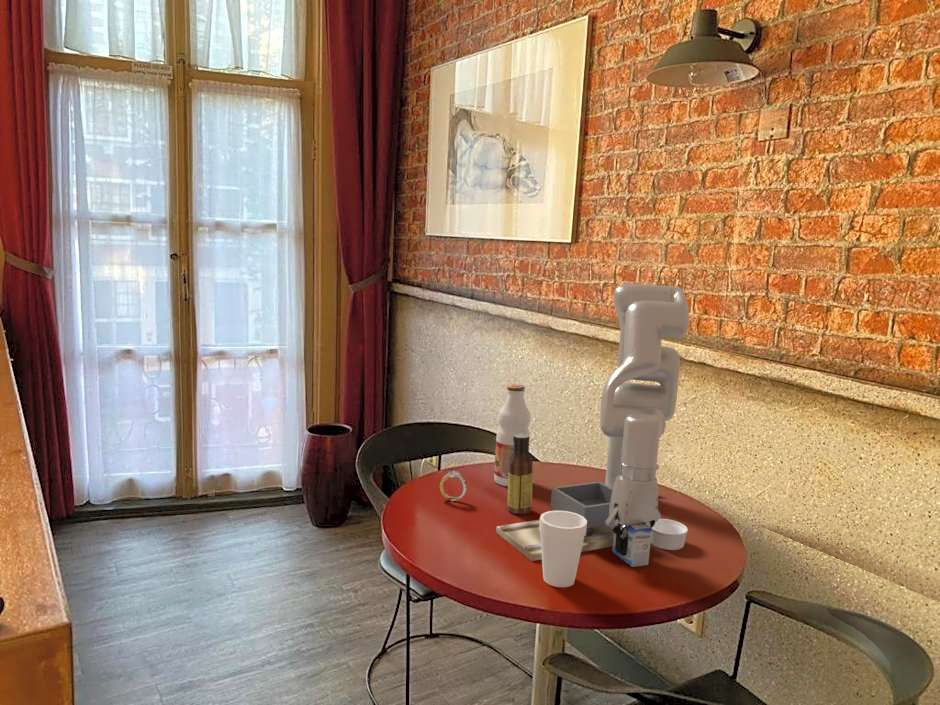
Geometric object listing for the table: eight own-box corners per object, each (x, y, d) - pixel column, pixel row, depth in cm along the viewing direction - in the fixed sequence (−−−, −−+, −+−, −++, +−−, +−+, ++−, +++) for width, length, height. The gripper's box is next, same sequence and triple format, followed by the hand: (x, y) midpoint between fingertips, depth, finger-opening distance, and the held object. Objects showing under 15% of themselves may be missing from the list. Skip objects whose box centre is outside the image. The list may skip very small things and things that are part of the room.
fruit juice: (513, 490, 196) (519, 390, 192) (487, 481, 202) (492, 384, 198) (533, 482, 203) (539, 386, 199) (507, 474, 209) (513, 381, 205)
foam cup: (579, 571, 149) (584, 512, 147) (585, 592, 140) (590, 530, 138) (534, 568, 149) (538, 509, 147) (536, 589, 140) (541, 526, 138)
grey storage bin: (596, 509, 178) (599, 481, 177) (632, 530, 166) (634, 500, 165) (549, 516, 171) (551, 487, 170) (582, 539, 160) (585, 507, 158)
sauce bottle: (531, 507, 184) (536, 433, 181) (531, 516, 177) (536, 439, 174) (506, 505, 184) (510, 431, 181) (505, 514, 178) (509, 437, 175)
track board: (599, 516, 180) (600, 508, 180) (641, 541, 166) (642, 532, 166) (496, 532, 167) (496, 523, 166) (531, 561, 153) (532, 551, 152)
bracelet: (466, 500, 186) (468, 471, 185) (463, 504, 183) (465, 475, 182) (441, 496, 188) (443, 467, 187) (437, 500, 185) (439, 471, 184)
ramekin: (690, 542, 167) (692, 524, 166) (680, 555, 160) (682, 537, 159) (653, 532, 172) (654, 515, 171) (642, 545, 164) (643, 527, 163)
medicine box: (611, 552, 159) (614, 515, 157) (628, 549, 160) (631, 513, 159) (631, 567, 152) (634, 529, 150) (649, 565, 153) (652, 527, 152)
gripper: (656, 462, 160) (649, 538, 163) (595, 470, 152) (588, 550, 155) (680, 473, 153) (672, 552, 156) (617, 481, 146) (610, 564, 149)
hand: (630, 550), depth 156 cm, fingers closed on medicine box, 4 cm apart
